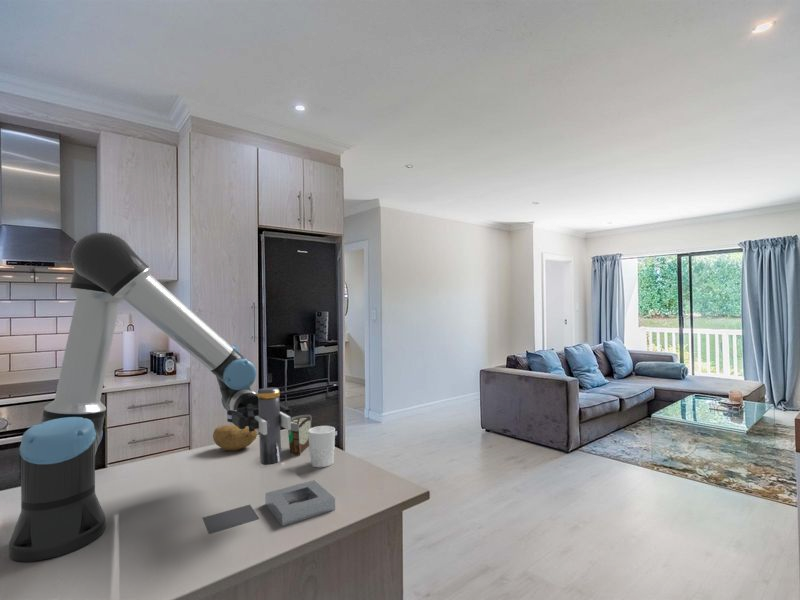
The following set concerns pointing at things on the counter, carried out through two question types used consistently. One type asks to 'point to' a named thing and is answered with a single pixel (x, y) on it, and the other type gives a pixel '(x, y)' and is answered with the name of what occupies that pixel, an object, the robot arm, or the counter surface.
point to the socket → (303, 510)
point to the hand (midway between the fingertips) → (277, 425)
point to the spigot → (270, 425)
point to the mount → (230, 518)
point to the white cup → (321, 445)
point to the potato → (233, 437)
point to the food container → (299, 434)
